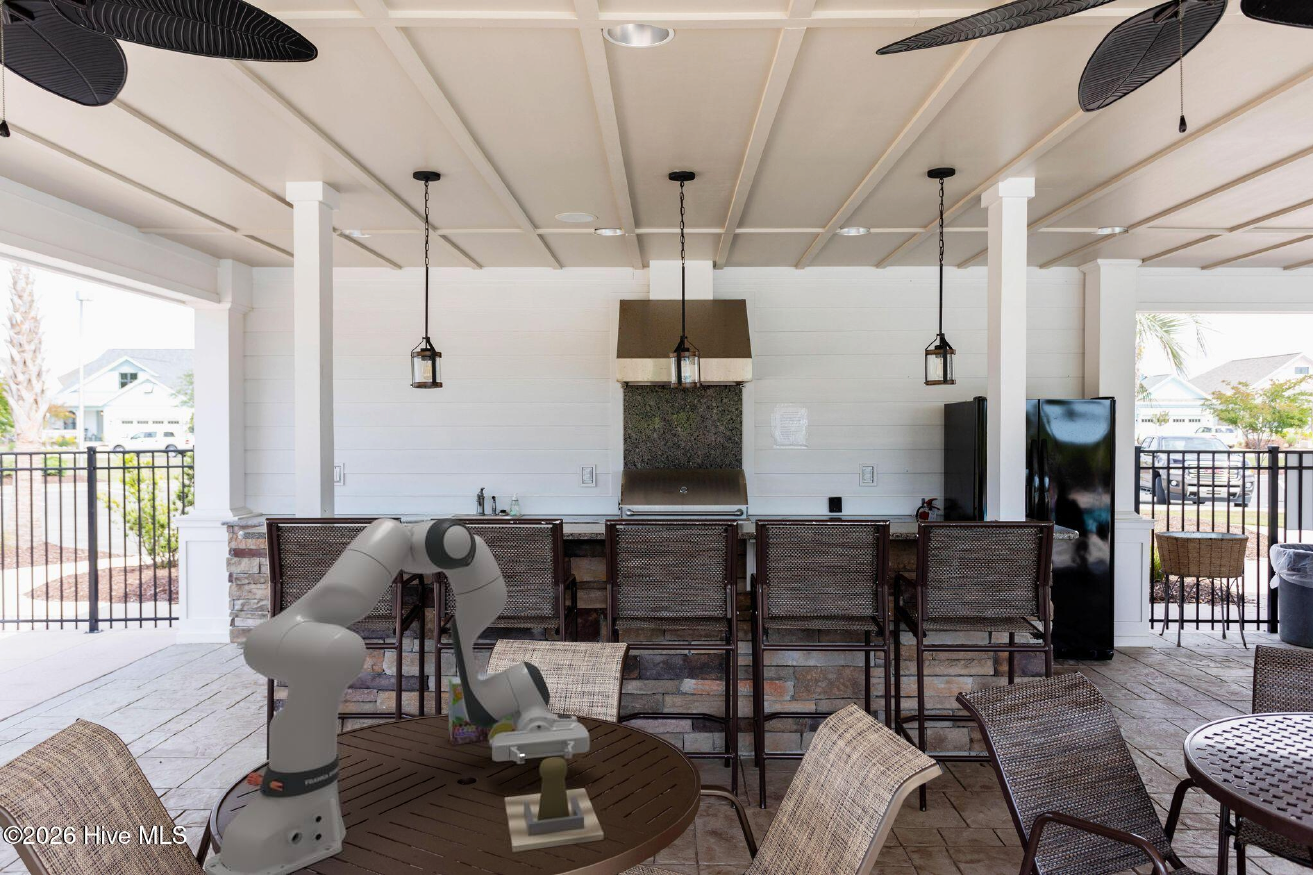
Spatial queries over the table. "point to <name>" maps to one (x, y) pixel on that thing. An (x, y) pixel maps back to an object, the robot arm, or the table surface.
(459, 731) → the snack box
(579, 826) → the frame
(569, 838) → the board
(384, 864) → the table surface
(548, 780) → the olive pawn
